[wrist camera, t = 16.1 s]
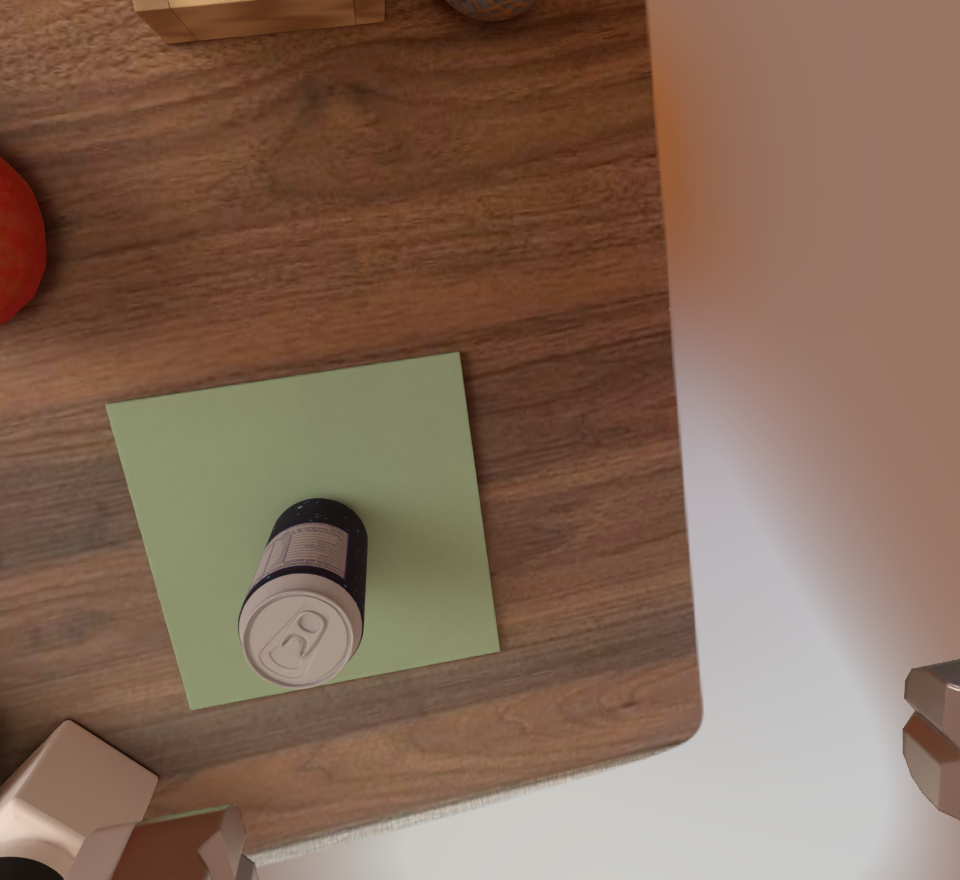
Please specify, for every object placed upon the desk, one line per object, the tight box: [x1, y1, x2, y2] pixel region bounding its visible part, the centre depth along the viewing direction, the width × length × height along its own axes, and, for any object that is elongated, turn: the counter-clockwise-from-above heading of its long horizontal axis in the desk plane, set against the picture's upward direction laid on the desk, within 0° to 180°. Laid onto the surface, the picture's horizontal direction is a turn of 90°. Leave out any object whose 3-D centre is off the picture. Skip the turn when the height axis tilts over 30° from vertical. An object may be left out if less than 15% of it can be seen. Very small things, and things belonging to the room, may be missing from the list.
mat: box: [105, 351, 500, 710], centre depth 43 cm, size 20×20×1 cm
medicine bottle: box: [0, 720, 158, 880], centre depth 40 cm, size 7×7×12 cm
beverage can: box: [238, 498, 368, 689], centre depth 37 cm, size 6×6×12 cm
